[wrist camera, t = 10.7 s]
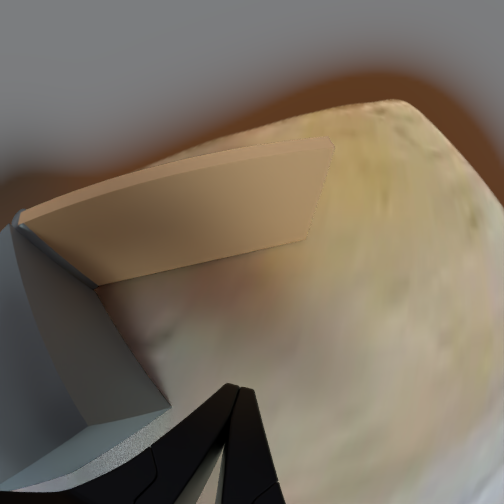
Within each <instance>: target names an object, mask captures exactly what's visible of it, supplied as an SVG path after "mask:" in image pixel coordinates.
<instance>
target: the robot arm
mask: <svg viewBox="0 0 504 504" xmlns="http://www.w3.org/2000/svg"><path fill="white" fill-rule="evenodd" d="M223 447H224V449H223ZM222 449H223V454H222V461H221V467H220V474H219V481H218V488H217V494H216V501H215V504H286V503H285V500H284V497H283V494H282V491H281V488H280V484H279V482H278V478H277V474H276V470H275V467H274V463H273V460H272V456H271V452H270V449H269V445H268V441H267V438H266V434H265V430H264V426H263V423H262V419H261V415H260V411H259V407H258V403H257V399H256V395H255V392H254V390H253V389H250V388H246V387H239V386H238V385H234V384H230V383H226V384H225V385H223V386H222V387H221V388H220V389H219V390H218V391H217V392H216V393H214V394H213V395H212V396H211V397H210V398H209V399H207V400H206V401H205V402H204V403H203V404H202V405H200V406H199V407H198V408H197V409H196V410H195V411H193V412H192V413H191V414H190V415H189V416H187V417H186V418H185V419H184V420H182V421H181V422H180V423H179V424H178V425H176V426H175V427H174V428H173V429H171V430H170V431H169V432H167V433H166V434H165V435H164V436H162V437H161V438H160V439H159V440H157V441H156V442H155V443H153V444H152V445H151V447H148V448H146V449H145V450H144V451H142V452H141V453H140V454H138V455H137V456H135V457H134V458H132V459H131V460H129V461H128V462H126V463H125V464H123V465H121V466H119V467H117V468H115V469H114V470H112V471H110V472H108V473H106V474H104V475H101V476H99V477H97V478H95V479H93V480H91V481H88V482H86V483H84V484H82V485H79V486H77V487H74V488H71V489H68V490H64V491H59V492H13V491H0V504H196V502H197V500H198V498H199V496H200V494H201V493H202V491H203V489H204V487H205V485H206V483H207V481H208V479H209V477H210V475H211V473H212V471H213V468H214V466H215V464H216V462H217V460H218V458H219V456H220V454H221V452H222Z"/></svg>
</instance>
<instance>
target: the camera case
mask: <svg viewBox="0 0 504 504" xmlns="http://www.w3.org/2000/svg"><path fill="white" fill-rule="evenodd" d="M170 408H171V406H170V404H169V403H168V402H167V401H166V399H165V398H164V397H163V395H162V394H161V393H160V391H159V390H158V389H157V388H156V386H155V385H154V384H153V382H152V381H151V379H150V378H149V377H148V375H147V374H146V373H145V371H144V370H143V368H142V367H141V365H140V364H139V363H138V361H137V360H136V358H135V357H134V355H133V354H132V352H131V351H130V349H129V348H128V346H127V345H126V343H125V341H124V340H123V338H122V337H121V335H120V334H119V332H118V330H117V329H116V327H115V325H114V324H113V322H112V320H111V319H110V317H109V315H108V313H107V312H106V310H105V308H104V306H103V305H102V303H101V301H100V299H99V297H98V296H97V294H96V292H95V291H93V290H92V289H91V288H89V287H88V286H86V285H85V284H84V283H82V282H81V281H79V280H78V279H77V278H75V277H74V276H73V275H71V274H70V273H69V272H67V271H66V270H65V269H63V268H62V267H61V266H59V265H58V264H57V263H55V262H54V261H53V260H52V259H50V258H49V257H48V256H47V255H45V254H44V253H43V252H42V251H41V250H39V249H38V248H37V247H36V246H34V245H33V244H32V243H31V242H30V241H29V240H27V239H26V238H25V237H24V236H23V235H22V234H21V233H19V232H18V231H17V230H16V229H15V228H14V227H13V226H12V225H10V224H8V225H7V226H6V227H5V228H4V229H3V230H2V231H1V232H0V491H12V490H16V489H20V488H24V487H28V486H32V485H35V484H39V483H42V482H45V481H49V480H52V479H55V478H58V477H61V476H64V475H67V474H70V473H72V472H74V471H75V470H77V469H79V468H81V467H82V466H84V465H86V464H87V463H89V462H91V461H92V460H94V459H96V458H97V457H99V456H100V455H102V454H104V453H105V452H107V451H108V450H110V449H111V448H113V447H115V446H116V445H118V444H119V443H121V442H122V441H124V440H125V439H127V438H128V437H130V436H131V435H133V434H134V433H136V432H137V431H139V430H140V429H142V428H143V427H144V426H146V425H147V424H149V423H150V422H152V421H153V420H154V419H156V418H157V417H159V416H160V415H162V414H163V413H164V412H166V411H167V410H168V409H170Z"/></svg>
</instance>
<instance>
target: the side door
mask: <svg viewBox="0 0 504 504" xmlns="http://www.w3.org/2000/svg"><path fill="white" fill-rule="evenodd" d="M334 150H335V146H334V144H333V143H332V141H331V139H330V138H329V136H325V137H315V138H305V139H297V140H288V141H281V142H274V143H267V144H260V145H254V146H248V147H242V148H236V149H231V150H225V151H220V152H215V153H210V154H205V155H200V156H196V157H191V158H187V159H183V160H178V161H174V162H170V163H166V164H162V165H158V166H154V167H150V168H147V169H143V170H139V171H136V172H132V173H129V174H125V175H122V176H119V177H115V178H112V179H109V180H106V181H103V182H100V183H97V184H93V185H90V186H88V187H85V188H82V189H79V190H76V191H73V192H70V193H68V194H65V195H62V196H60V197H57V198H54V199H52V200H49V201H47V202H44V203H42V204H40V205H37V206H35V207H32V208H30V209H27V210H26V209H21V210H19V211H18V212H17V213H16V215H15V216H14V218H13V221H12V226H13V227H14V228H15V229H16V230H17V231H18V232H19V233H21V234H22V235H23V236H24V237H25V238H26V239H27V240H29V241H30V242H31V243H32V244H33V245H34V246H36V247H37V248H38V249H39V250H41V251H42V252H43V253H44V254H45V255H47V256H48V257H49V258H50V259H52V260H53V261H54V262H55V263H57V264H58V265H59V266H61V267H62V268H63V269H65V270H66V271H67V272H69V273H70V274H71V275H73V276H74V277H75V278H77V279H78V280H79V281H81V282H82V283H84V284H85V285H86V286H88V287H89V288H91V289H96V288H97V287H98V286H100V285H104V284H108V283H113V282H117V281H122V280H126V279H131V278H135V277H140V276H144V275H149V274H153V273H158V272H162V271H167V270H171V269H176V268H180V267H185V266H189V265H194V264H198V263H203V262H207V261H212V260H216V259H221V258H225V257H230V256H234V255H239V254H243V253H248V252H252V251H257V250H261V249H266V248H270V247H275V246H279V245H284V244H288V243H293V242H297V241H302V240H306V238H307V235H308V232H309V229H310V226H311V223H312V220H313V217H314V214H315V211H316V208H317V205H318V202H319V199H320V195H321V192H322V189H323V186H324V183H325V180H326V176H327V173H328V170H329V167H330V163H331V160H332V157H333V154H334Z"/></svg>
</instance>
